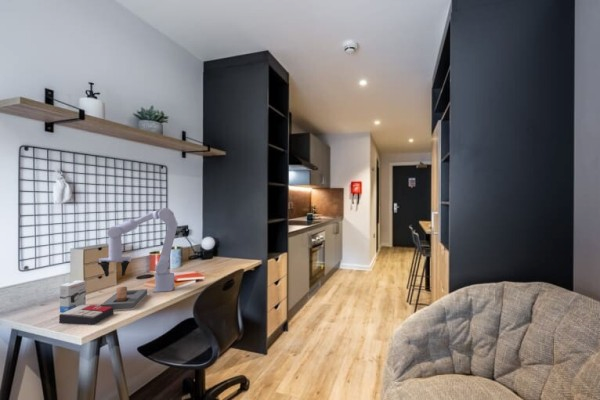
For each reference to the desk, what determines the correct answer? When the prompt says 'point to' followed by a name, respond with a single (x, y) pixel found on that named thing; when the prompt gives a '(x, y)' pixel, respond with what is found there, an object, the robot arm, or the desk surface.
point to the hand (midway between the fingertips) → (115, 275)
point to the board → (132, 300)
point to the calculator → (86, 314)
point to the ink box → (72, 295)
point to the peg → (121, 294)
